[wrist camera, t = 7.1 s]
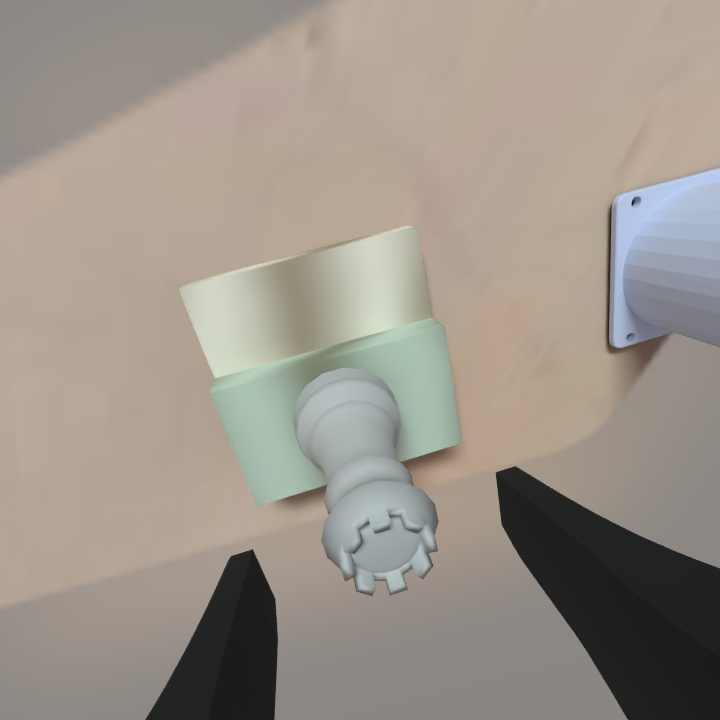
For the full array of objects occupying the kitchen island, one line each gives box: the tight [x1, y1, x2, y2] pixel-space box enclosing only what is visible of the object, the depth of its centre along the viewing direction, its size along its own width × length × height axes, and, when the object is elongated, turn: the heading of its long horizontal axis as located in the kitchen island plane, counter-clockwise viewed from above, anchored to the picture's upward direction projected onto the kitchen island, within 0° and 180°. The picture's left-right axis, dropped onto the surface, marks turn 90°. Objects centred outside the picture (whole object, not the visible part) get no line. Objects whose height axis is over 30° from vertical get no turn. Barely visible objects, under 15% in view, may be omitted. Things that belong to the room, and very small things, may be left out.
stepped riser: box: [179, 226, 462, 506], centre depth 18 cm, size 10×10×3 cm
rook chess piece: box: [292, 368, 438, 596], centre depth 14 cm, size 4×4×8 cm
